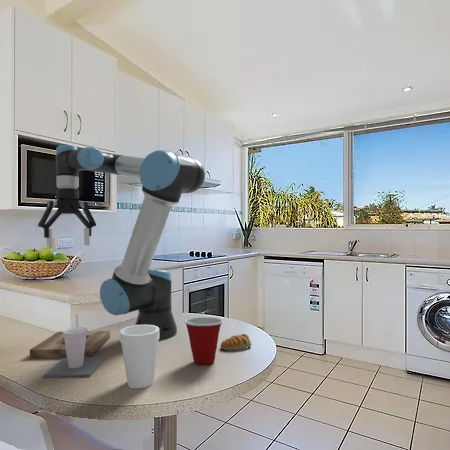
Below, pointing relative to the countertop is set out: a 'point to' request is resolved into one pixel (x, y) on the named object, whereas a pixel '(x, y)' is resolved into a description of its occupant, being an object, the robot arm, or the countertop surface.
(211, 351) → the plastic cup
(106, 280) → the robot arm
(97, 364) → the rubber mat
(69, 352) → the smoothie
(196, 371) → the countertop surface
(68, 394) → the countertop surface
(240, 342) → the pastry
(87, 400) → the countertop surface
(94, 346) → the holder block
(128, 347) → the foam cup
